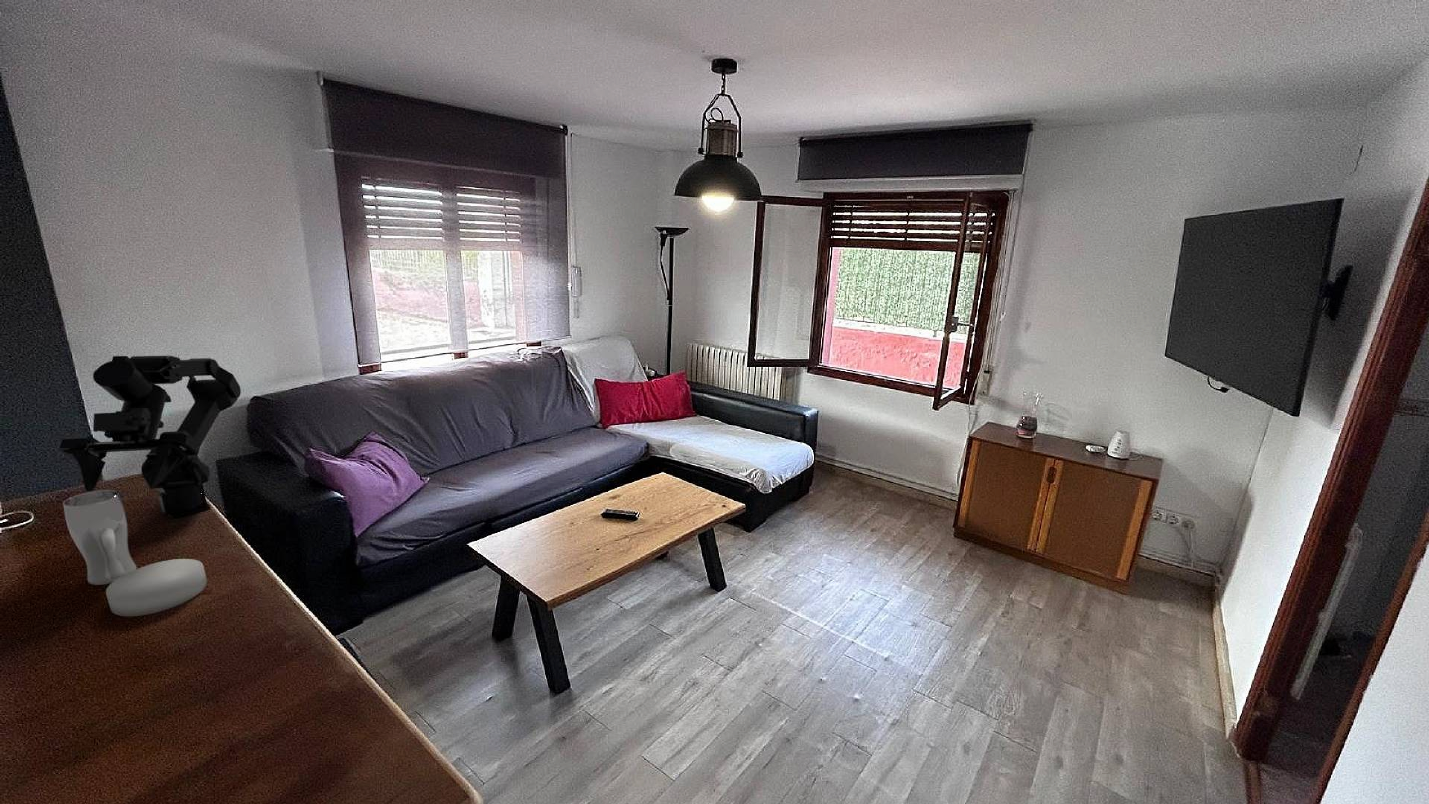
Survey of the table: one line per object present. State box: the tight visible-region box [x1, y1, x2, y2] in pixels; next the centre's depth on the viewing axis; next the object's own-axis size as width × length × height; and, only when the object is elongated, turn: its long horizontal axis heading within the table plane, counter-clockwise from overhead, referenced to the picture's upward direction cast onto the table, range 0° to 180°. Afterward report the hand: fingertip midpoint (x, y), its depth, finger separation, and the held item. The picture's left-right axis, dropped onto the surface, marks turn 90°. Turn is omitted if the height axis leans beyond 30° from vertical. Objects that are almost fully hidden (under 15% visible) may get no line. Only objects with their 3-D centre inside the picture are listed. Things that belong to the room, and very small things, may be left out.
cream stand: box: [105, 558, 208, 617], centre depth 99 cm, size 12×12×3 cm
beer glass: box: [62, 489, 138, 586], centre depth 101 cm, size 7×7×15 cm
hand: (120, 489), depth 107 cm, fingers open, 9 cm apart
